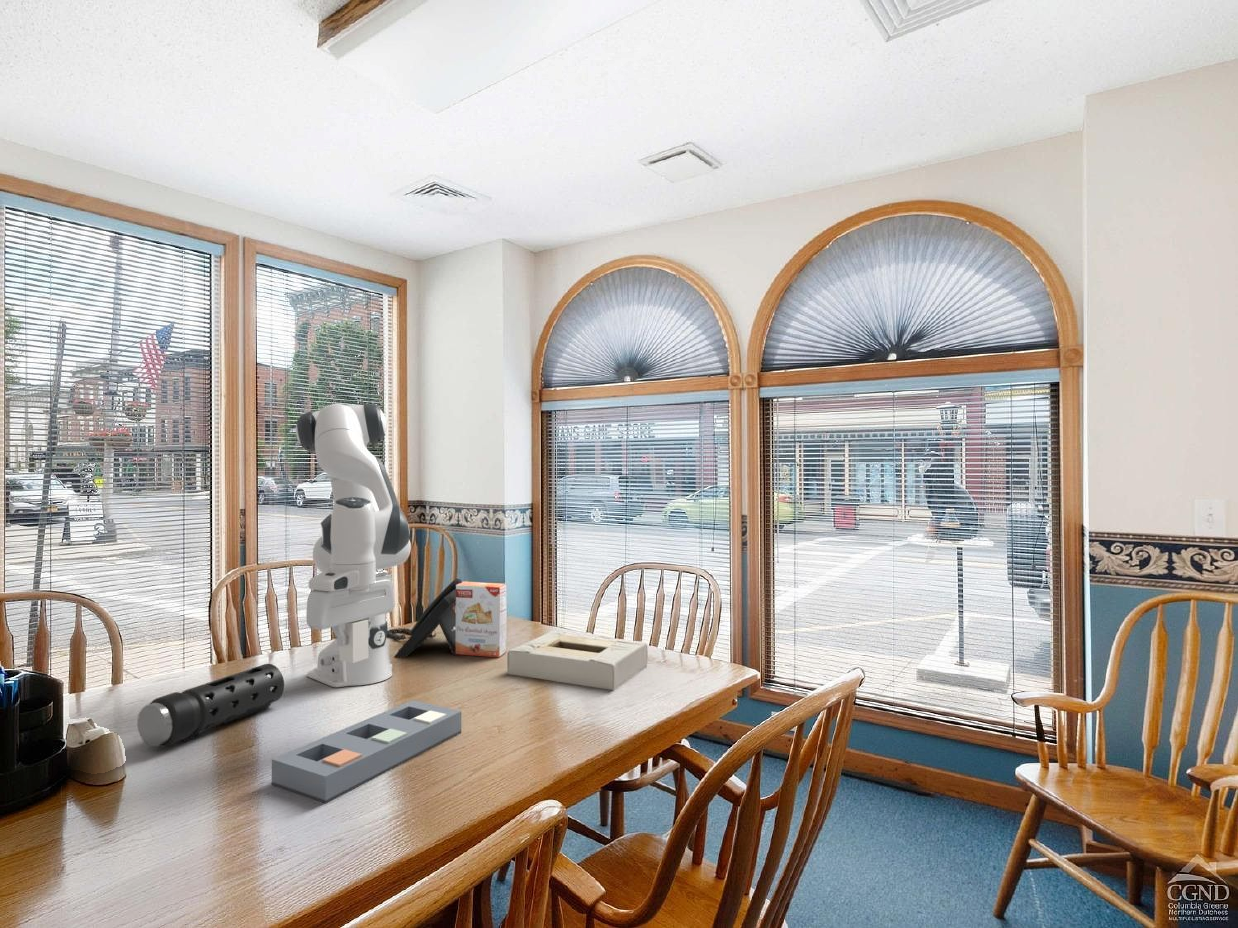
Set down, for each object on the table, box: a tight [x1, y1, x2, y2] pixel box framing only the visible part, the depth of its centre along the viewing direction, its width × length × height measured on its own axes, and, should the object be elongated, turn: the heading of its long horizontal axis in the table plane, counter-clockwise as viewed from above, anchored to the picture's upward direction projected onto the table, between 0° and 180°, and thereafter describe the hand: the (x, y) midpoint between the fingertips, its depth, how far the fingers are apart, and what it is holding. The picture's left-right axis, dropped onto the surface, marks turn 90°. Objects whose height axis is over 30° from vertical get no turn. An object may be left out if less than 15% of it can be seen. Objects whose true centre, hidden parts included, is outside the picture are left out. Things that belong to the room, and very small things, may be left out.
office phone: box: [386, 578, 463, 659], centre depth 215 cm, size 29×28×20 cm
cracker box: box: [455, 581, 508, 658], centre depth 204 cm, size 14×6×21 cm, turn 78°
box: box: [506, 630, 649, 691], centre depth 189 cm, size 23×8×32 cm
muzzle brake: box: [137, 663, 285, 748], centre depth 148 cm, size 10×28×10 cm, turn 159°
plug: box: [339, 619, 368, 663], centre depth 144 cm, size 4×4×8 cm
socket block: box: [271, 699, 462, 804], centre depth 134 cm, size 14×34×5 cm, turn 152°
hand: (353, 641), depth 144 cm, fingers closed on plug, 4 cm apart
